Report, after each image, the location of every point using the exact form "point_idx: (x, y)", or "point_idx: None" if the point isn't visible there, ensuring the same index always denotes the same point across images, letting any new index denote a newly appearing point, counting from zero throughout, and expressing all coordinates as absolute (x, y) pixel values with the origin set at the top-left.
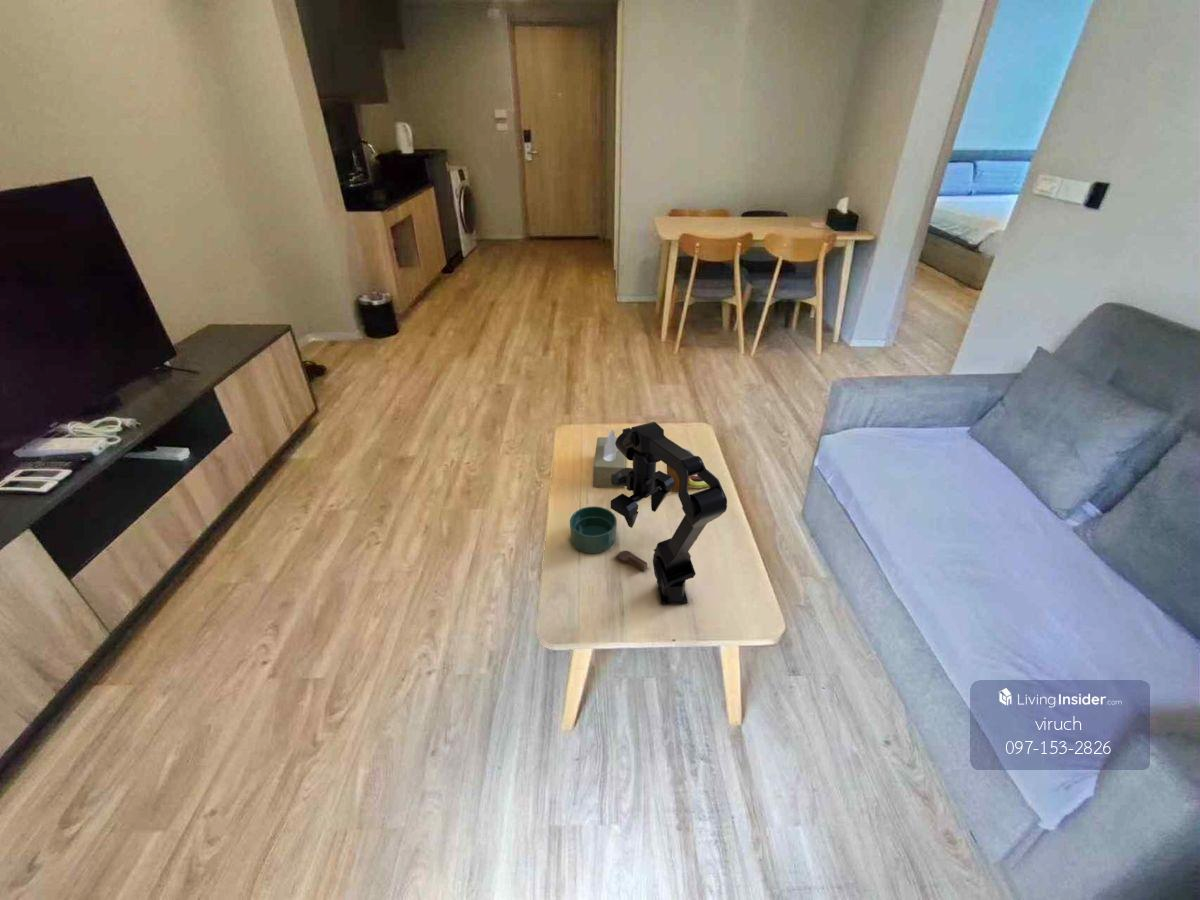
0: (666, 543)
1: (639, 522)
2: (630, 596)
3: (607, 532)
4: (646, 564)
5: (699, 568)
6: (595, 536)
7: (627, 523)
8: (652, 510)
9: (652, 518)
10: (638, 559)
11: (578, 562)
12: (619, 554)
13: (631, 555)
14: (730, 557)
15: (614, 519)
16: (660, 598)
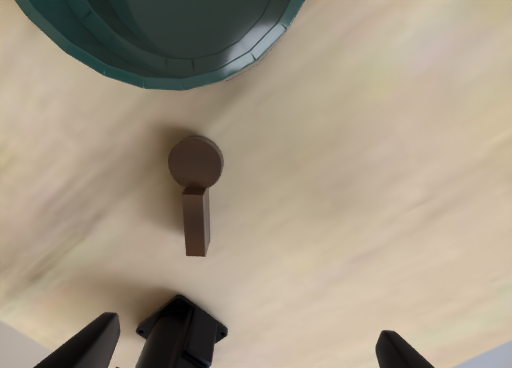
0: None
1: (411, 76)
2: (92, 262)
3: (140, 79)
4: (200, 254)
5: (307, 330)
6: (54, 39)
7: (76, 336)
8: (381, 337)
9: (462, 106)
10: (196, 227)
11: None
12: (182, 145)
13: (194, 198)
14: None
15: (277, 21)
16: (147, 318)
